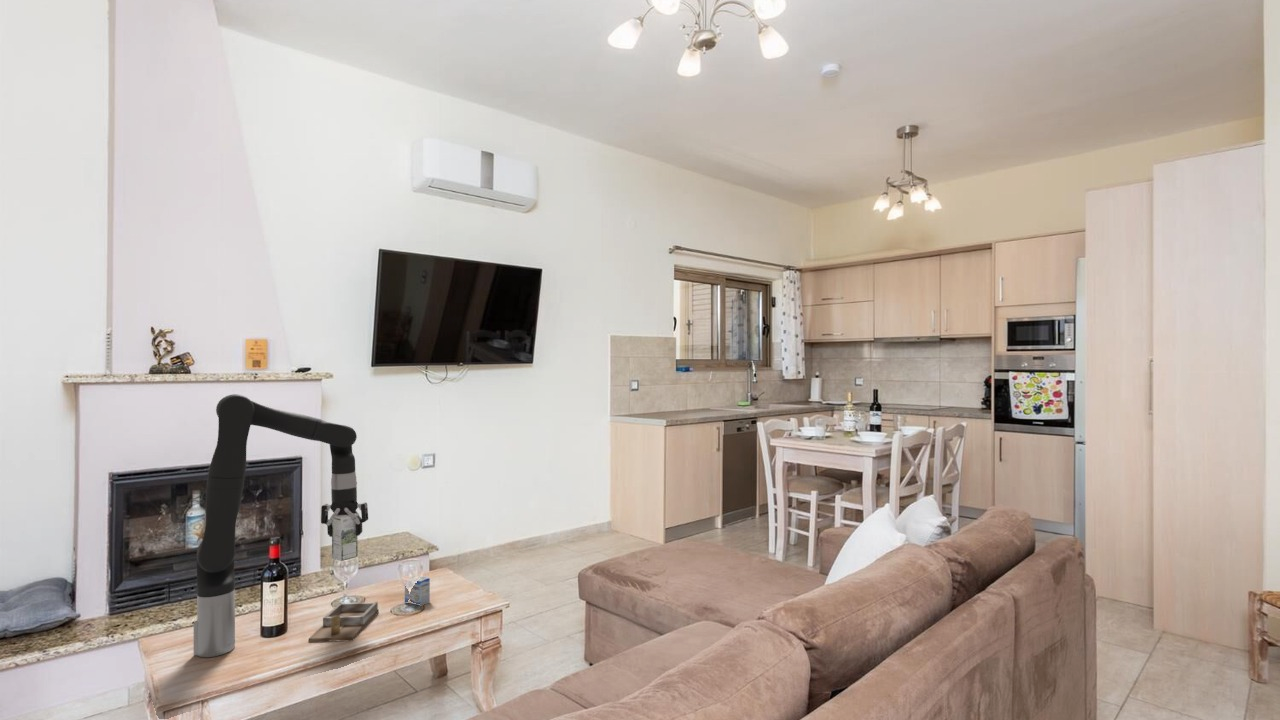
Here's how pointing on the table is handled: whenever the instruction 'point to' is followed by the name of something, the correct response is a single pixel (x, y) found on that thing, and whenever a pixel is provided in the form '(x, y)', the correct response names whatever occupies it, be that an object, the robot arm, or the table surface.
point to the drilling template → (345, 621)
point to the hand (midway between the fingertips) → (345, 535)
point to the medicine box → (419, 592)
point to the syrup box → (344, 538)
